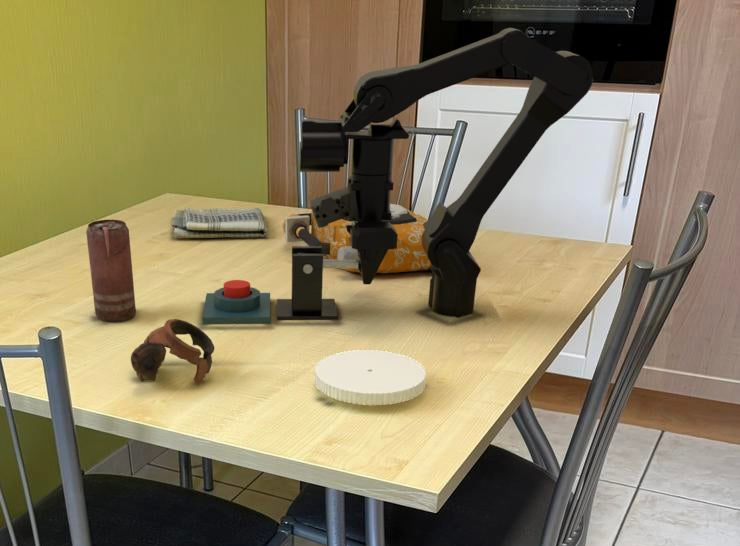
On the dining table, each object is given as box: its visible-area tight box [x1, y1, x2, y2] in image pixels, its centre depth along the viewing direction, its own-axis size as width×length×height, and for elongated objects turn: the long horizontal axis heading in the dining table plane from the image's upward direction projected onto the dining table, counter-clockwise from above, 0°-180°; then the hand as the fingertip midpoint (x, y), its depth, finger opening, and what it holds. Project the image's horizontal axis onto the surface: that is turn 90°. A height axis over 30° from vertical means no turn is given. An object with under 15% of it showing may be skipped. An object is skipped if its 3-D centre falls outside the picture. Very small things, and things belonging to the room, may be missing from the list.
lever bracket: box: [276, 245, 339, 321], centre depth 138 cm, size 9×8×10 cm
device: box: [281, 203, 438, 274], centre depth 163 cm, size 23×8×30 cm
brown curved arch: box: [130, 318, 215, 384], centre depth 119 cm, size 12×10×8 cm
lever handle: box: [298, 253, 362, 275], centre depth 137 cm, size 12×3×3 cm, turn 90°
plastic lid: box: [313, 349, 427, 406], centre depth 117 cm, size 14×14×2 cm
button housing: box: [201, 286, 271, 325], centre depth 140 cm, size 10×11×4 cm
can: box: [85, 219, 137, 323], centre depth 137 cm, size 6×6×14 cm
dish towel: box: [170, 207, 269, 239], centre depth 183 cm, size 19×18×3 cm
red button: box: [223, 279, 251, 298], centre depth 139 cm, size 4×4×2 cm
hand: (365, 280), depth 138 cm, fingers closed on lever handle, 3 cm apart
